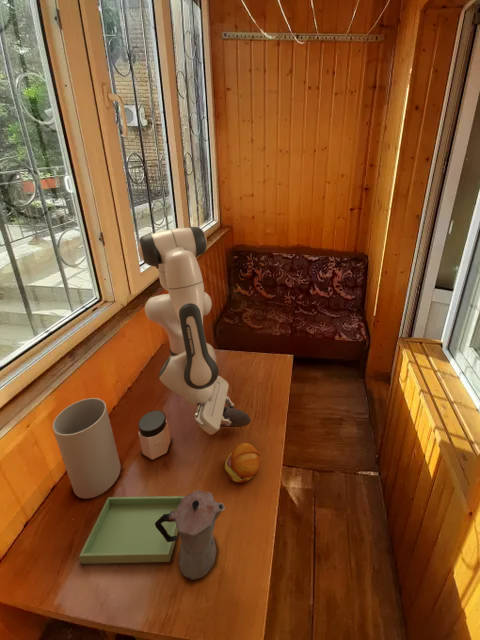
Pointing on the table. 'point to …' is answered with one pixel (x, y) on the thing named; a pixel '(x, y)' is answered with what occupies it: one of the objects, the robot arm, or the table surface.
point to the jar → (154, 434)
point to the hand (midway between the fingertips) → (231, 415)
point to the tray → (131, 531)
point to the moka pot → (194, 532)
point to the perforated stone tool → (235, 417)
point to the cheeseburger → (242, 463)
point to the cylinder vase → (87, 447)
